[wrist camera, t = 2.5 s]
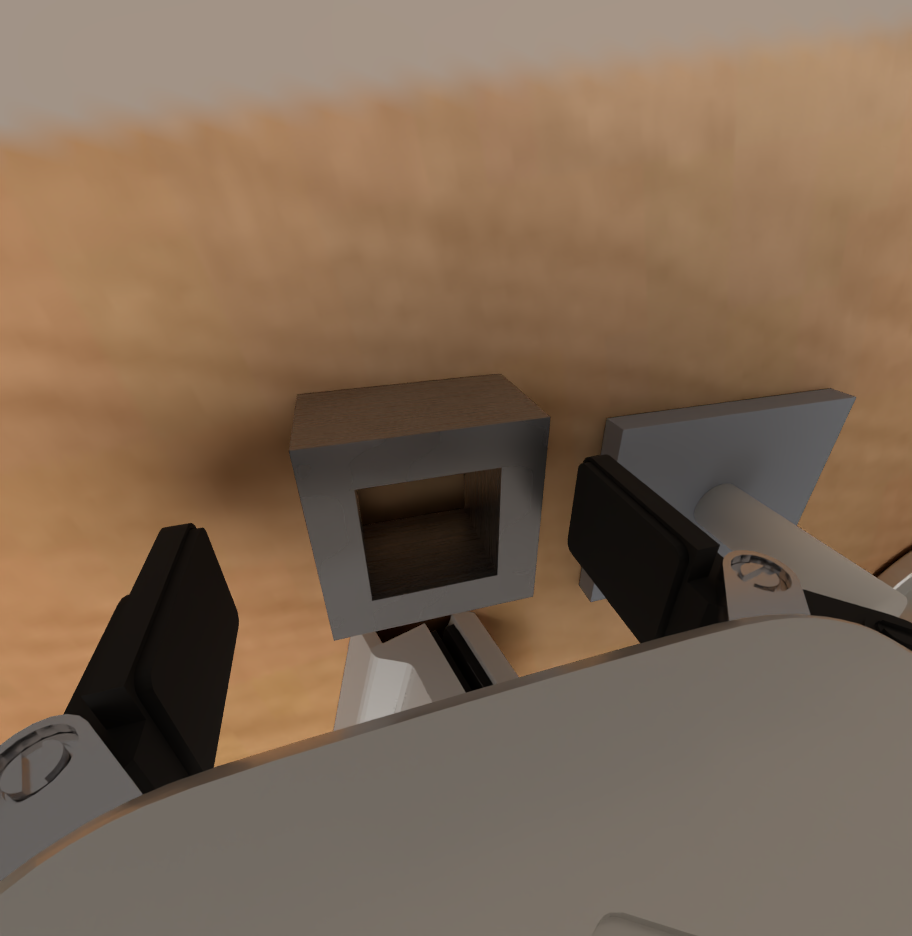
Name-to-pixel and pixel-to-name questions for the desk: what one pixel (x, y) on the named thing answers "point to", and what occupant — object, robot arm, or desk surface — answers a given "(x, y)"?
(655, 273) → the desk surface
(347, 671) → the grey slotted holder
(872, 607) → the keeper
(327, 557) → the grey square hollow block
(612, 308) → the desk surface
